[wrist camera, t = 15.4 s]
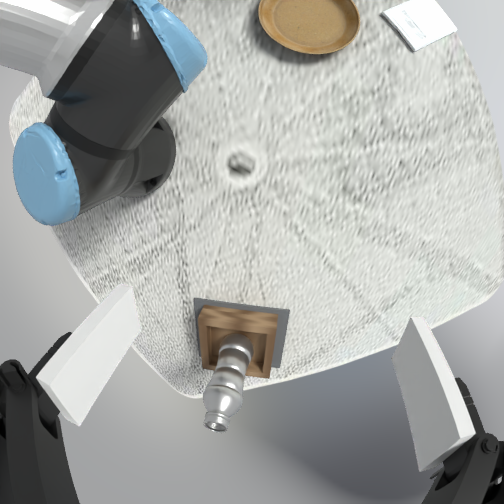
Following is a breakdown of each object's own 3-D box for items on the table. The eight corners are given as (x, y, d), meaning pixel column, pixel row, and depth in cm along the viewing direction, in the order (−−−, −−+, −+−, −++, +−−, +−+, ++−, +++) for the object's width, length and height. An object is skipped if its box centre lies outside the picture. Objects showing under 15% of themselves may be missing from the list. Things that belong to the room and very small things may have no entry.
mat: (199, 354, 58) (199, 356, 58) (194, 297, 51) (194, 298, 51) (279, 366, 56) (279, 367, 56) (289, 309, 49) (289, 310, 49)
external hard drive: (454, 32, 24) (412, 53, 28) (424, -4, 22) (380, 14, 26) (458, 30, 22) (416, 50, 27) (428, -7, 20) (382, 10, 25)
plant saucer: (339, 73, 32) (342, 70, 30) (245, 40, 32) (242, 34, 29) (367, 7, 26) (371, 0, 23) (279, -25, 25) (278, -32, 23)
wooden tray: (207, 354, 57) (202, 368, 53) (204, 304, 51) (197, 317, 47) (271, 364, 56) (269, 378, 52) (278, 314, 50) (276, 328, 46)
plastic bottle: (236, 356, 54) (214, 438, 36) (216, 335, 52) (185, 418, 35) (262, 346, 52) (246, 433, 34) (241, 323, 50) (216, 413, 32)
